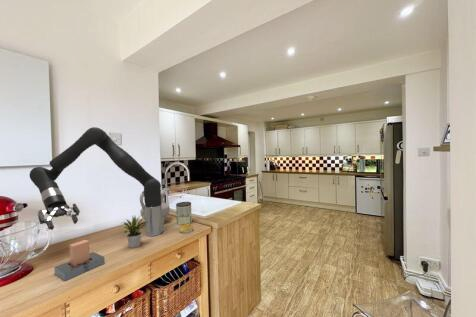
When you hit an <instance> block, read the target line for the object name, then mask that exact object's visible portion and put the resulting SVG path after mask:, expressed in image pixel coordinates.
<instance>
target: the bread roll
mask: <svg viewBox="0 0 476 317" xmlns="http://www.w3.org/2000/svg"><path fill="white" fill-rule="evenodd" d="M192 230H193V231H194V226H193V225H191V224H189V225H187V224H183V225H181V226H179V228H178V232H179V233H180V234H181V233H182V234H188V233H187V232H189V233H191V232H193V231H192ZM190 231H191V232H190Z"/></svg>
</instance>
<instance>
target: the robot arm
mask: <svg viewBox="0 0 476 317" xmlns="http://www.w3.org/2000/svg"><path fill="white" fill-rule="evenodd" d="M92 146H97V147H99V149H101V150H102V151H103V152H105V153H106V154H107V155H108V157H109V158H110V160H111V161H112V162H113V163H114V165H115V166H117V168H119V169H120V170H121V171H122V172H123V173H125V174H127V175H128V176H130V177H132V178H133V179H135V180H137V181H138V182H139V183H140V184H141V185H142V187H143V191H144V197H143V203H144V205H145V214H146V221H145V222H146V223H145V225H146V226H145V235H146V236H147V237H155V236H159V235H161V234H162V233H163V232H164V231H165V227H164V226H165V225H164V223H165V222H163V216H162V206H161V189H162V183H161V182H160V181H159V180H158V179H157V178H155V177H154V176H152V174H150V173H149V172H147V170H145V168H144V167H143V166H142V165H141V164H140V163H139V162H138V161H137V160H136V159H135V158H134V157H133V156H132V155H130V154H129V152H127V151H126V150H124V149H123V148H122V147H120V146H119V145H118V144H116V143H115V141H114V140H113V139H112V138H111V137H110V136H109V135H108V133H107V132H106V131H104V129H101V128H99V127H89V128H88V129H87V130H86V131H85V132H84V133H82V135H81V136H80V137H79V138H78V139H76V140H75V142H74V143H72V144H71V145H70V146H69V147H68V148H66V149H65V150H63V151H62V152H61V153H59V154H57V155H56V156H55V157H53V159H51V160H49V166H50V167H51V169H48V168H45V167H44V166H36V167H33V168H31V170H30V172H29V178H30V180H31V181H32V183H33V184H34V186H36V188H37V189H38V191H39V194H40V196H41V201H42V203H43V205H44V208H45V210H43V209H39V210H38V212H37V218H38V222H39V224H40V225H44V224H46V225H47V228H48V230H50V231H52V230H54V228H55V226H54V223H53V221H52V220H53V218H59V217H64V216H66V217H70V218H71V219H72V220H71V221H72V222H73V225H76V224H77V222H78V221H79V218H78V216H80V213H81V211H80V209H79V207H78V206H77V204H76V203H72V204H70V205H68V204H67V201H66V199H65V196H64V194H63V192H62V191H61V189H60V187H59V185H58V183H57V182H56V180H57V179H58V178H59V176H60V175H61V174H62V173H63V171H64V170H66V168H68V167H69V166H71V165H72V164H73V163H74V162H75V161H77V159H79V157H80V156H81V155H82V154H83V153H84V152H85V151H86V150H88V149H89V148H90V147H91V148H92ZM45 215H49V216H48V217H47V218H45ZM148 221H150V222H148ZM147 226H148V227H147ZM146 227H147V228H146Z"/></svg>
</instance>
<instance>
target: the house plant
mask: <svg viewBox="0 0 476 317" xmlns="http://www.w3.org/2000/svg"><path fill="white" fill-rule="evenodd" d="M140 217H141V215H139V216H138V217H137V216H136V215H133V216H132V218H131V220H132V222H131V221H130V220H129V219H127V218H125V220H126V221H127V222H126V221H125V220H124V221H123V222H121V224H124V225H125V226H123V229H124V230H123V234H126V233H128V234H127V235H126V239H127V243H128V248H129V249H135V248H138V247H140V245H141V242H142V235H143V234H142V232H141V230H142V229H144V228H145V229H146V228H147V227H148V226H147V227H146V221H145V219H143V218H144V217H143V218H142V217H141V218H140ZM139 219H140V220H139ZM148 222H150V221H148ZM125 229H127V230H125Z"/></svg>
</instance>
